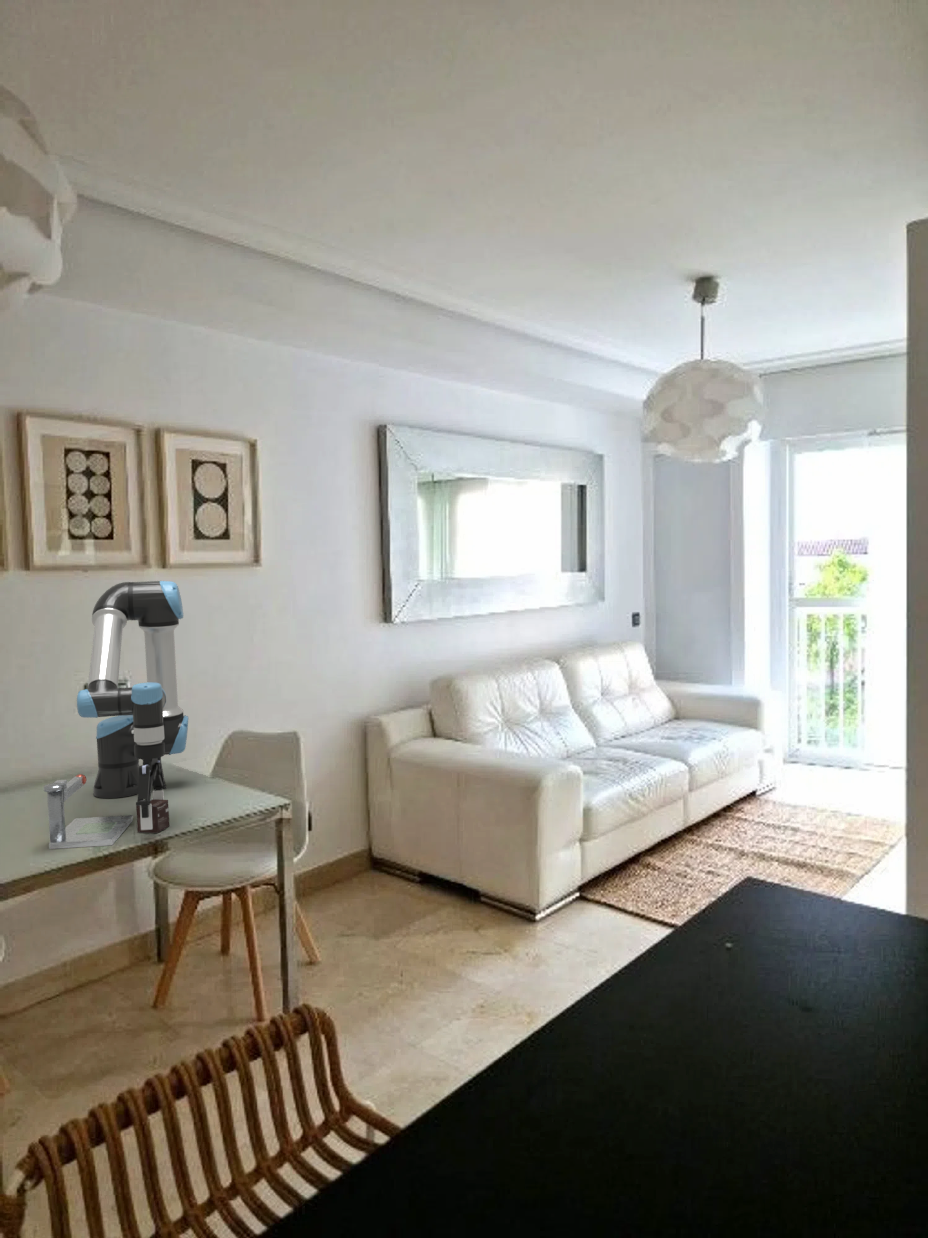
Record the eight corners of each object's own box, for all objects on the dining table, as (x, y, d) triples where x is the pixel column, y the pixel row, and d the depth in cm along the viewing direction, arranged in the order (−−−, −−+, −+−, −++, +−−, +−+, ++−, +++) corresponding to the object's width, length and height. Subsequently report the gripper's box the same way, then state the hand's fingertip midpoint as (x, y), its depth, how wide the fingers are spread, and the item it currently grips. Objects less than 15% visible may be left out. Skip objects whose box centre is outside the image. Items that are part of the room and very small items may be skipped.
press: (74, 824, 229) (71, 773, 228) (132, 820, 231) (130, 770, 230) (47, 849, 210) (44, 793, 208) (112, 845, 211) (109, 790, 210)
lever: (63, 808, 209) (61, 787, 208) (41, 809, 208) (40, 788, 208) (91, 783, 232) (90, 764, 231) (72, 784, 231) (71, 765, 231)
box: (157, 834, 220) (156, 806, 219) (136, 832, 221) (135, 805, 220) (170, 826, 226) (168, 799, 225) (149, 825, 227) (148, 798, 226)
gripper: (146, 733, 233) (149, 809, 235) (121, 753, 209) (125, 837, 210) (174, 732, 234) (177, 807, 236) (152, 751, 210) (156, 835, 211)
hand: (153, 821), depth 223 cm, fingers open, 13 cm apart
